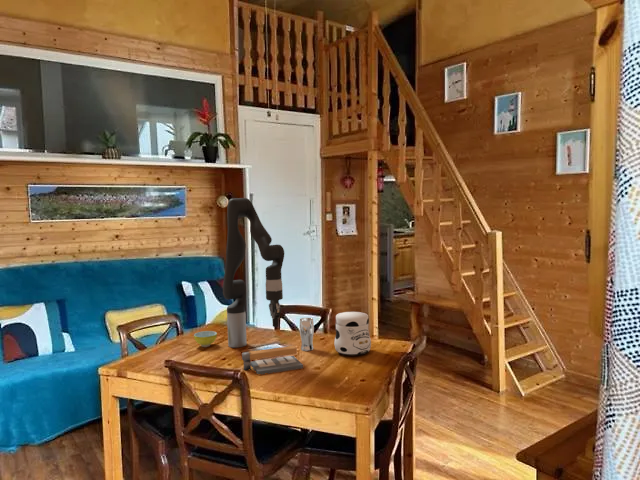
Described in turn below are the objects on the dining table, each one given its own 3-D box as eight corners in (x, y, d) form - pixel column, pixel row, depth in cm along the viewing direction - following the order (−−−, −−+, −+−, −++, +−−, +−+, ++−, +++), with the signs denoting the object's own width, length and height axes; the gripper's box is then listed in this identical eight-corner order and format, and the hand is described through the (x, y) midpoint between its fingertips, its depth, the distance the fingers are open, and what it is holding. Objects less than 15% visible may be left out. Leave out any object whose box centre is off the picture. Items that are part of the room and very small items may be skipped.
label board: (250, 364, 214) (250, 360, 214) (293, 358, 221) (293, 354, 221) (257, 374, 201) (257, 370, 201) (303, 368, 208) (303, 363, 208)
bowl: (214, 348, 240) (214, 336, 240) (191, 349, 240) (191, 337, 240) (219, 342, 251) (219, 330, 251) (197, 342, 252) (197, 331, 251)
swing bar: (243, 360, 206) (243, 355, 206) (241, 358, 210) (241, 352, 210) (296, 353, 214) (296, 348, 214) (294, 351, 218) (293, 345, 218)
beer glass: (298, 348, 237) (297, 318, 236) (311, 346, 240) (310, 316, 239) (302, 352, 231) (301, 321, 230) (316, 350, 233) (315, 319, 232)
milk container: (366, 359, 218) (365, 320, 216) (329, 356, 223) (329, 318, 222) (374, 348, 234) (374, 312, 233) (340, 346, 240) (339, 310, 238)
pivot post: (243, 368, 210) (242, 359, 210) (249, 367, 211) (249, 358, 211) (244, 370, 207) (244, 361, 207) (251, 369, 208) (251, 360, 208)
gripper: (262, 287, 223) (263, 324, 224) (269, 291, 211) (271, 330, 212) (278, 286, 226) (279, 322, 227) (286, 290, 213) (287, 328, 215)
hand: (275, 326), depth 219 cm, fingers closed
